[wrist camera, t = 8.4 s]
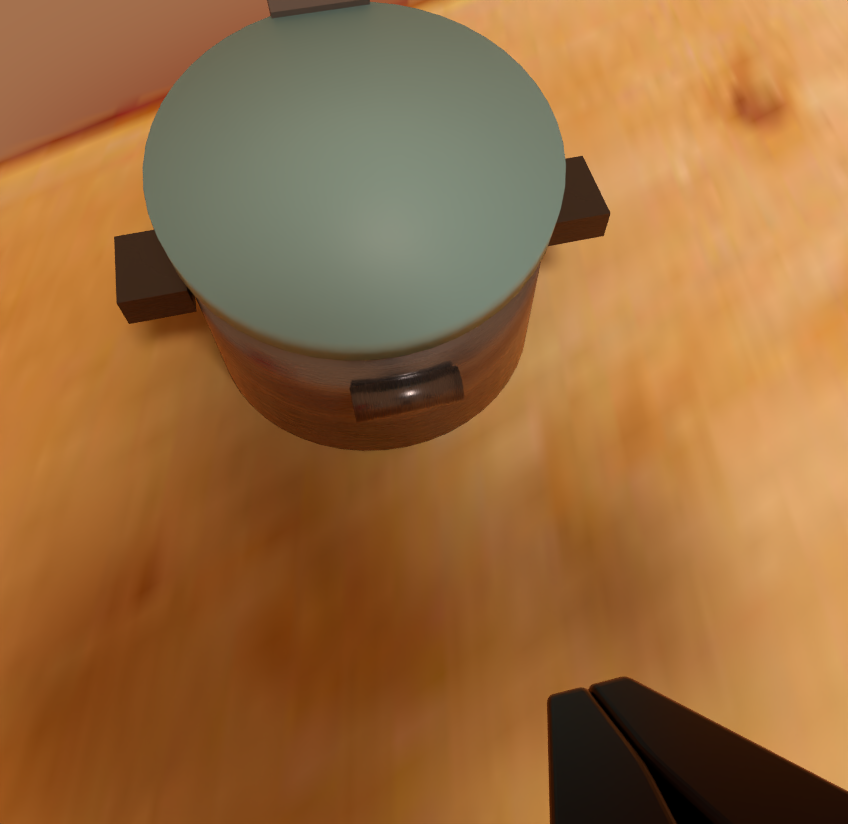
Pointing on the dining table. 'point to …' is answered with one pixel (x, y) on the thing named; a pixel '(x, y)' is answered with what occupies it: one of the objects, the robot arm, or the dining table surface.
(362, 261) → the lid
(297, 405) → the cooker pot
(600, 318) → the dining table surface
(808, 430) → the dining table surface
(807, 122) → the dining table surface
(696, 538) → the dining table surface
